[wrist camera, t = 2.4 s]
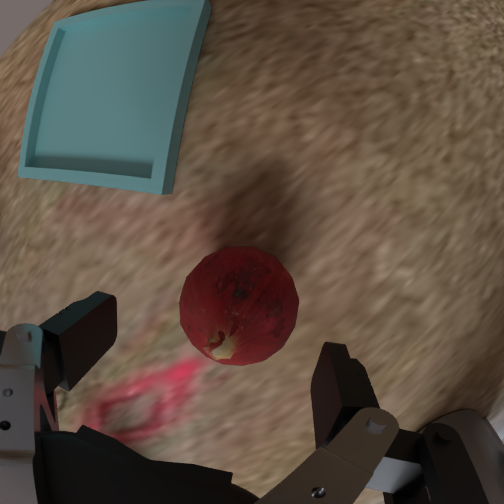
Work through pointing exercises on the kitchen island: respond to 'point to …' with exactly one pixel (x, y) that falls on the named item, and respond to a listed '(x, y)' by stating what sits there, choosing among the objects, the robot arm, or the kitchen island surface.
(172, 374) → the kitchen island surface
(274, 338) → the dark red rounded piece
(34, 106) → the tray
